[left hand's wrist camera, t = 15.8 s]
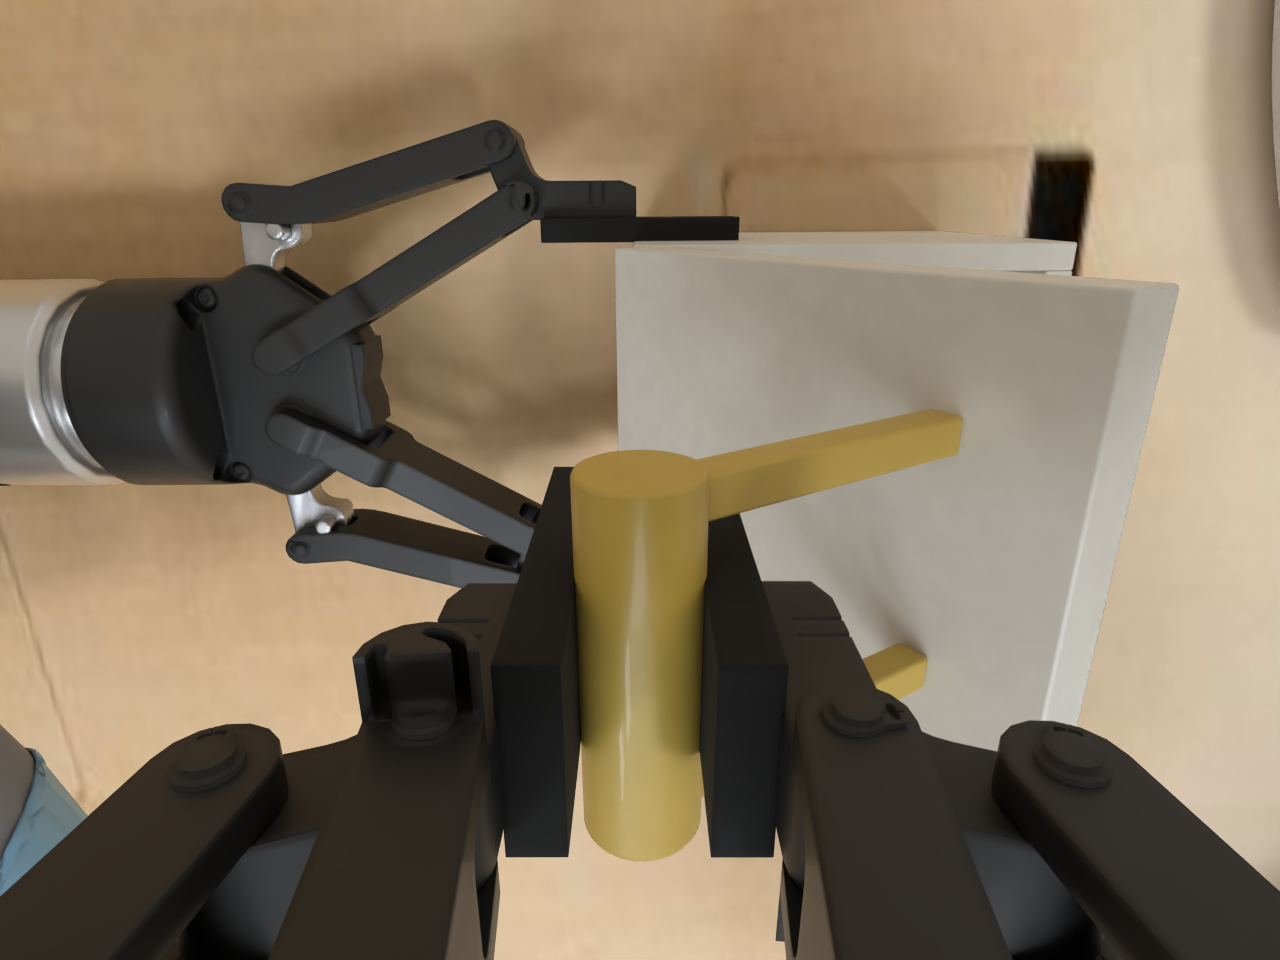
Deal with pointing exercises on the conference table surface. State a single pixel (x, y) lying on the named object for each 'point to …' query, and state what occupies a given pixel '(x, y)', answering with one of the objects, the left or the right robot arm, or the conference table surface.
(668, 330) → the lid
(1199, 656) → the conference table surface
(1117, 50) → the conference table surface
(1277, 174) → the projector
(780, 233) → the chest
